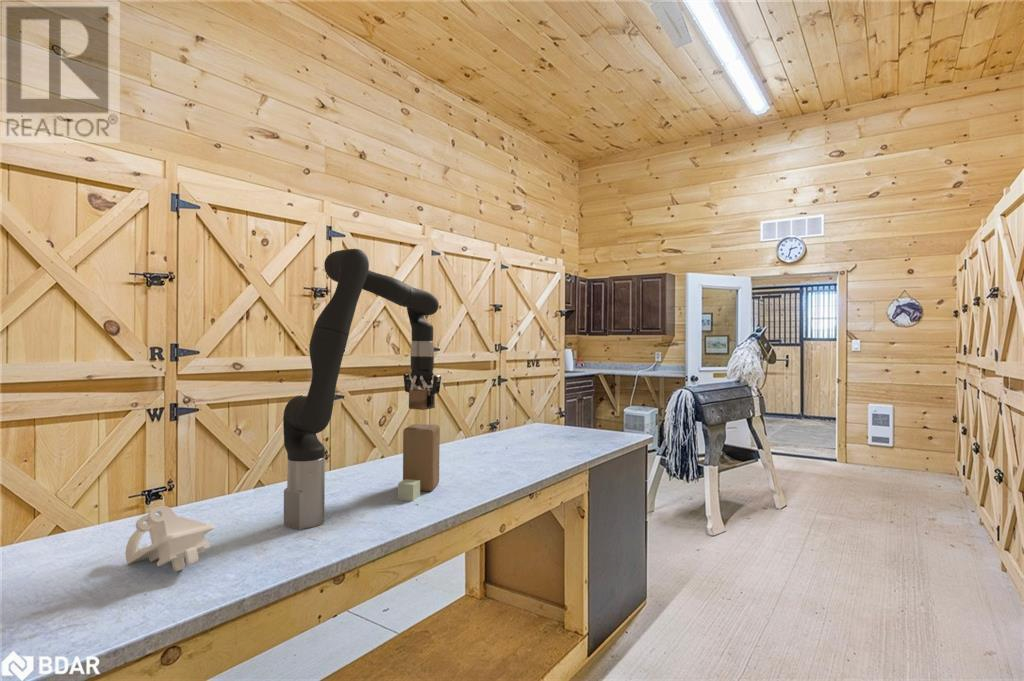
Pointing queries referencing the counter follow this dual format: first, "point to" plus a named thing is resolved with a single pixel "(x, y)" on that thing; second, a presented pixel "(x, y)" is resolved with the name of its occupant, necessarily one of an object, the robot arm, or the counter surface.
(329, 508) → the counter surface
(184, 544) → the beige angular piece
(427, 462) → the wooden block
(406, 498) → the sage cube
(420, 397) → the walnut cube
